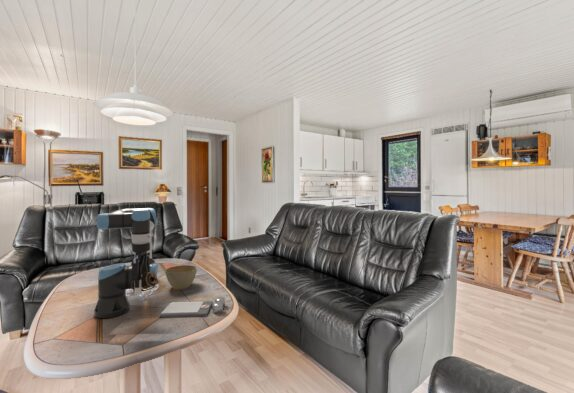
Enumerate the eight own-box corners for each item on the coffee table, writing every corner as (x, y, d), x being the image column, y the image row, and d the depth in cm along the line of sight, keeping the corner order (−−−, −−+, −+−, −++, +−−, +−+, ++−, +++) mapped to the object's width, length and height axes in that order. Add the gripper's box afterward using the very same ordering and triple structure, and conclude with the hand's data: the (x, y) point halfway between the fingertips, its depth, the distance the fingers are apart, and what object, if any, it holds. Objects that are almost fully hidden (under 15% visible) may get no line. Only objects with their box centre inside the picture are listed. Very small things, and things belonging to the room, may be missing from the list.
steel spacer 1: (214, 308, 141) (214, 300, 141) (215, 304, 146) (215, 297, 146) (224, 308, 142) (224, 300, 142) (225, 304, 147) (225, 296, 146)
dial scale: (159, 317, 131) (159, 313, 131) (170, 304, 146) (170, 301, 146) (206, 315, 133) (206, 312, 133) (212, 303, 148) (212, 300, 148)
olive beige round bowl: (178, 295, 159) (178, 274, 159) (159, 289, 168) (159, 269, 168) (202, 286, 174) (202, 267, 174) (184, 281, 184) (184, 263, 184)
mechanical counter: (153, 295, 126) (153, 273, 126) (124, 296, 126) (124, 274, 126) (159, 290, 134) (159, 269, 134) (132, 290, 133) (132, 269, 133)
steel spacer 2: (211, 314, 135) (211, 306, 135) (213, 309, 140) (213, 302, 140) (222, 313, 135) (222, 305, 135) (223, 309, 140) (223, 301, 140)
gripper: (140, 246, 120) (140, 299, 121) (157, 239, 139) (157, 284, 140) (122, 246, 120) (122, 299, 120) (142, 239, 139) (142, 284, 139)
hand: (141, 291), depth 130 cm, fingers closed on mechanical counter, 6 cm apart
